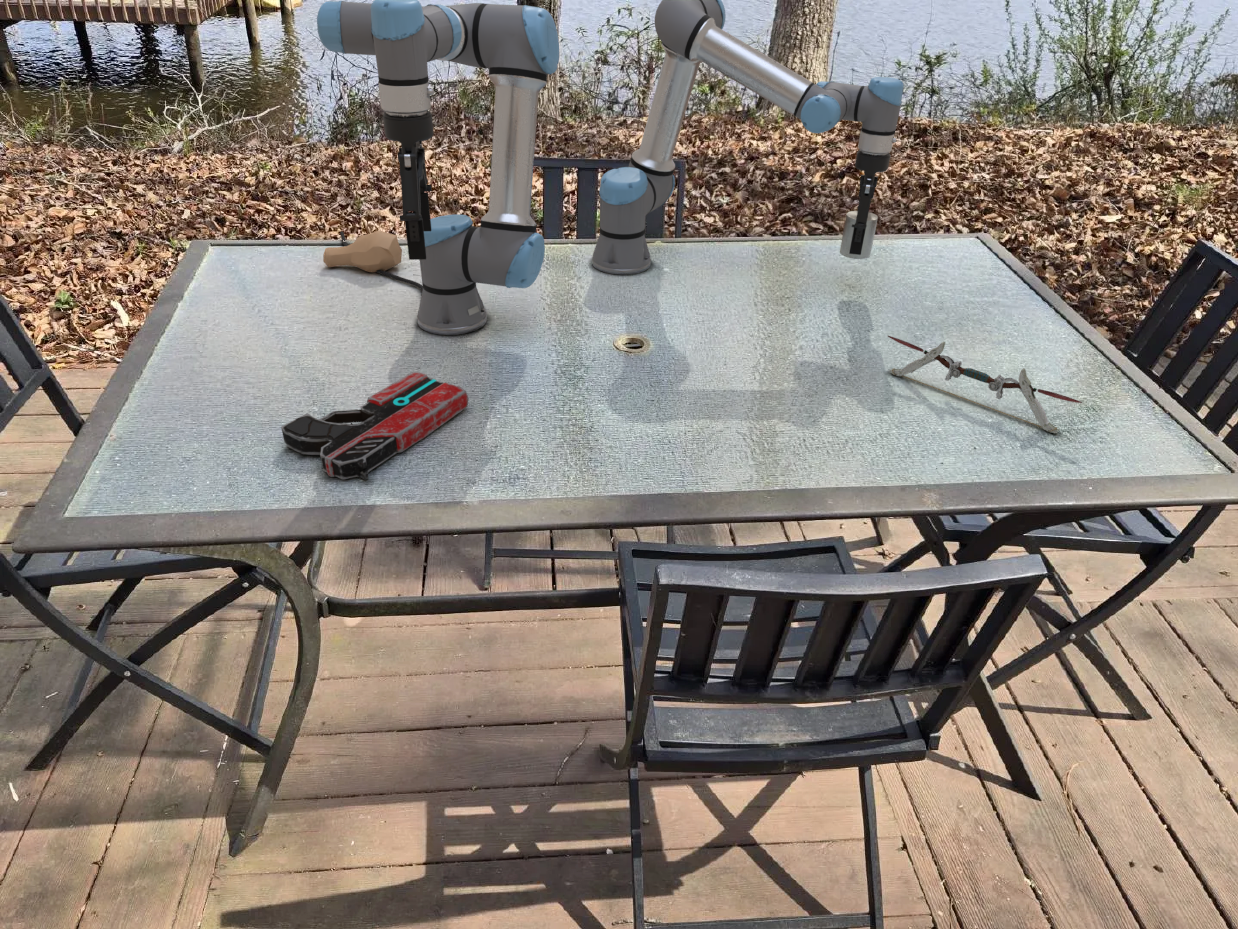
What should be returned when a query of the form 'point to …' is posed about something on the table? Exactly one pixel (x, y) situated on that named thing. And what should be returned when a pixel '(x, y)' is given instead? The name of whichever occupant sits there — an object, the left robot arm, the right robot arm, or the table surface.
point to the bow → (994, 384)
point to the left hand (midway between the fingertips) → (420, 244)
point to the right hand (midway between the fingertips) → (855, 247)
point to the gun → (376, 425)
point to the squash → (367, 252)
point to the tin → (848, 235)
